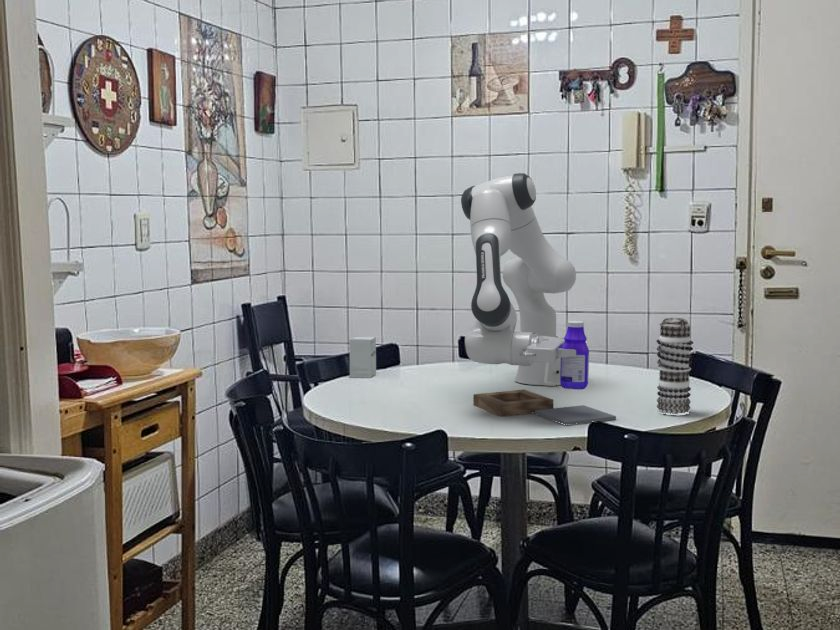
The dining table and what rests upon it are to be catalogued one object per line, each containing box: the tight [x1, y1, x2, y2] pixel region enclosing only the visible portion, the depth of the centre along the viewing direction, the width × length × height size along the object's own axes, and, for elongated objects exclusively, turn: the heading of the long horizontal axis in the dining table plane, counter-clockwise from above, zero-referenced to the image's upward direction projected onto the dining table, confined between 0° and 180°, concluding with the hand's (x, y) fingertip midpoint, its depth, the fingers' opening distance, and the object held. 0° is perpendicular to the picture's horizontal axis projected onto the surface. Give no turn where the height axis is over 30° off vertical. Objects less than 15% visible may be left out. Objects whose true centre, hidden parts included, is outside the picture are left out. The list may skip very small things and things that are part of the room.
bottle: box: [560, 320, 590, 390], centre depth 244 cm, size 7×6×17 cm
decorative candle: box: [656, 317, 694, 414], centre depth 248 cm, size 9×9×25 cm
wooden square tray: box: [472, 389, 555, 417], centre depth 257 cm, size 16×16×3 cm
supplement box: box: [348, 336, 377, 379], centre depth 308 cm, size 7×7×13 cm
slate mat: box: [534, 404, 617, 426], centre depth 245 cm, size 15×15×1 cm
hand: (578, 350), depth 243 cm, fingers closed on bottle, 6 cm apart
